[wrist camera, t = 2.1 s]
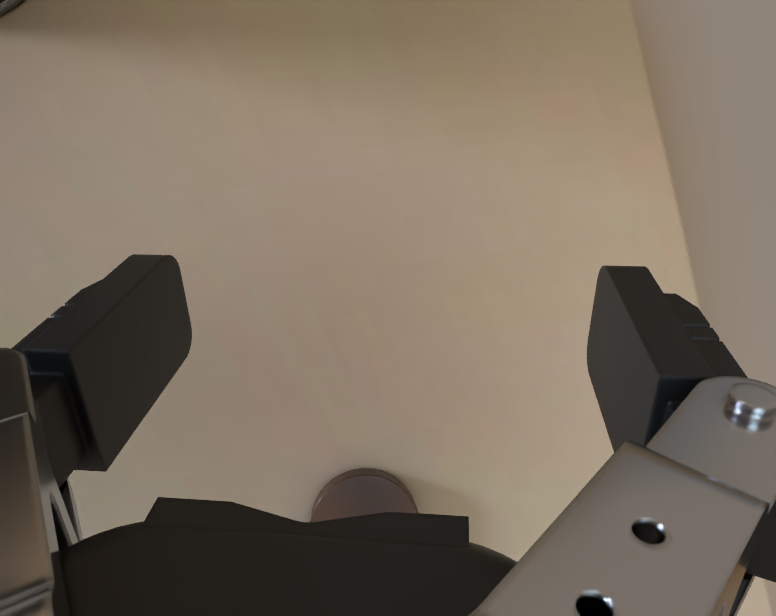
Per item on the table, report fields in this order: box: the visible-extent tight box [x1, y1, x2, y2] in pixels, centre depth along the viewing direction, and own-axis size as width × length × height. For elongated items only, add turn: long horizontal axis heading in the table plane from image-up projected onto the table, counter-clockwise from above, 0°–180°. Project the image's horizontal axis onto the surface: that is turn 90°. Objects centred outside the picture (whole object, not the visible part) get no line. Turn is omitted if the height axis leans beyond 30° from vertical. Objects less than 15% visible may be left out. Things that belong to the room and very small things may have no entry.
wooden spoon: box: [311, 469, 418, 522], centre depth 34 cm, size 21×6×1 cm, turn 116°
